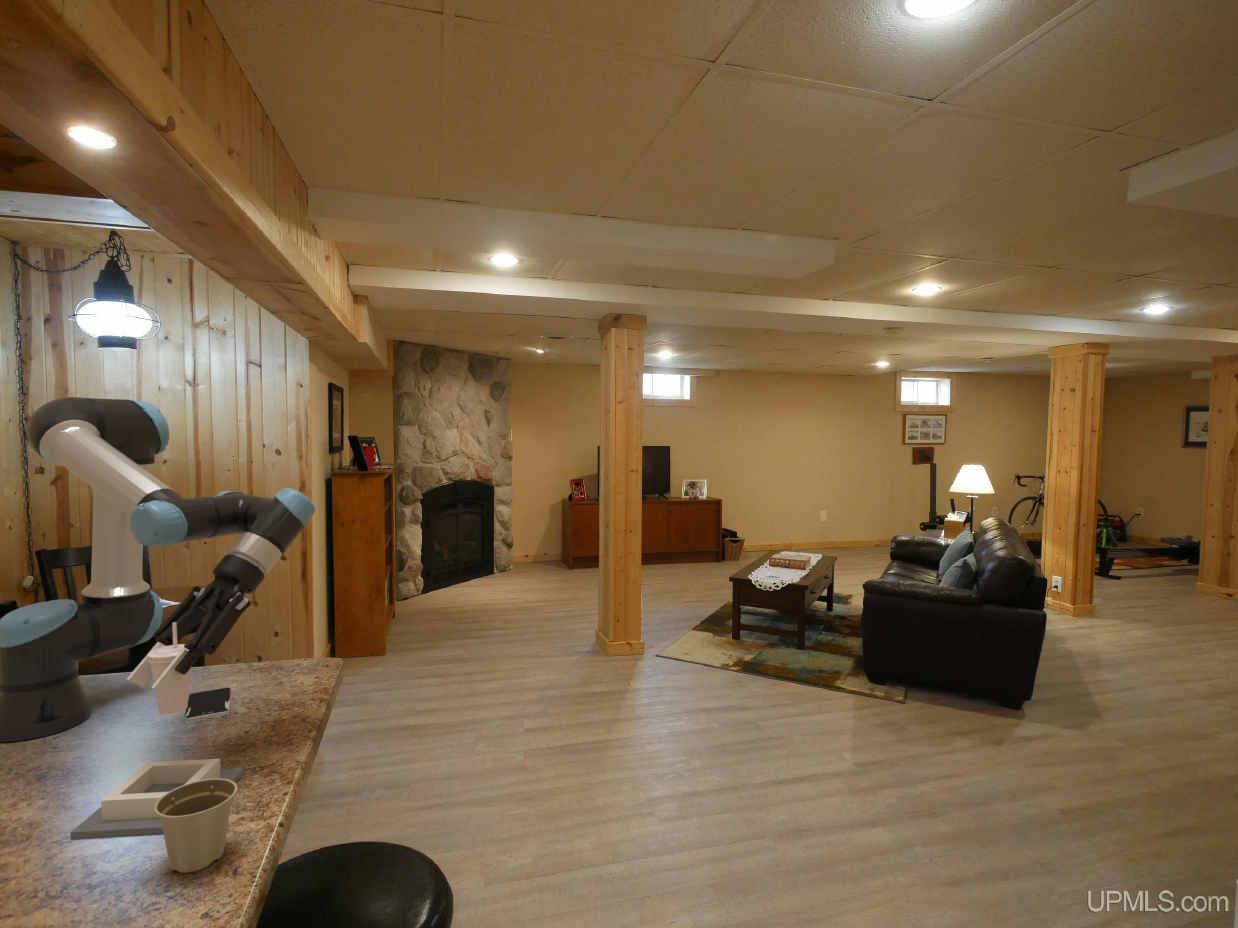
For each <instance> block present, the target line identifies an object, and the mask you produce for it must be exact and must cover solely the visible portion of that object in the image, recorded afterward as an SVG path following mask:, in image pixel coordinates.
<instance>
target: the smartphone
mask: <svg viewBox="0 0 1238 928" xmlns="http://www.w3.org/2000/svg"><path fill="white" fill-rule="evenodd" d="M230 705H231V687H222V688H216V689H210V690H204V691H198V692H192V693H191V694H190V693H189V697H188V706H187V708H186V709H185V712H184V713H185V714H184V717H183V720H184V721H183V723H184V722H191V721H196V720H202V719H208V718H213V717H217V716H223V715H228V714H229V715H230V708H229V707H230ZM229 715H228V716H229Z"/></svg>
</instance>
